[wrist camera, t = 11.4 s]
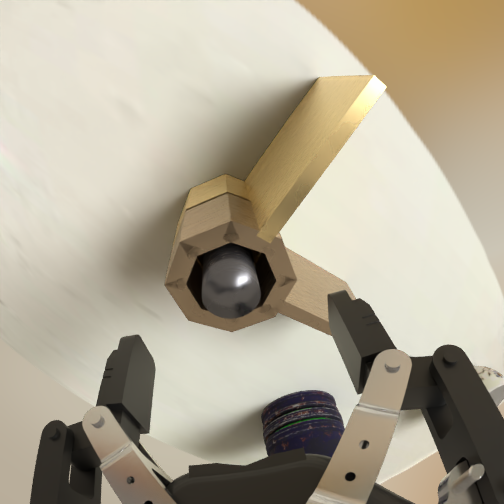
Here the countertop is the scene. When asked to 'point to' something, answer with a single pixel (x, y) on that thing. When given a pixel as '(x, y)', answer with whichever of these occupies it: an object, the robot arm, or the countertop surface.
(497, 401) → the teacup
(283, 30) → the countertop surface
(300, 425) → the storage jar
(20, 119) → the countertop surface
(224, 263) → the hinge pin
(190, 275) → the hinge
